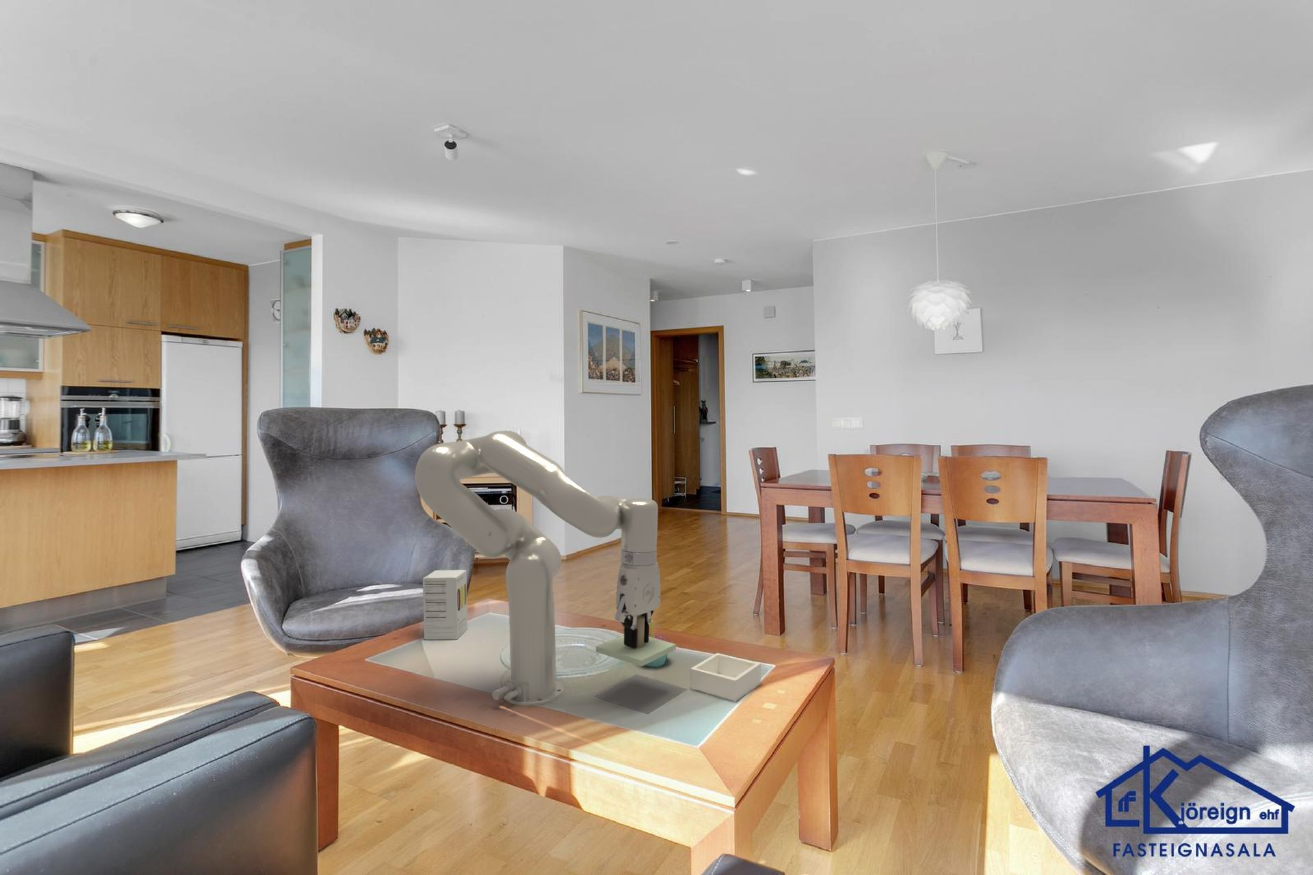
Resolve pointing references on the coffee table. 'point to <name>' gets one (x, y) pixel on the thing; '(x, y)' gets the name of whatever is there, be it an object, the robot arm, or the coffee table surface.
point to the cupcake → (662, 659)
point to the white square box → (725, 677)
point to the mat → (641, 693)
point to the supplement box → (445, 604)
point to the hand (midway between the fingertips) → (636, 642)
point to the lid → (642, 652)
